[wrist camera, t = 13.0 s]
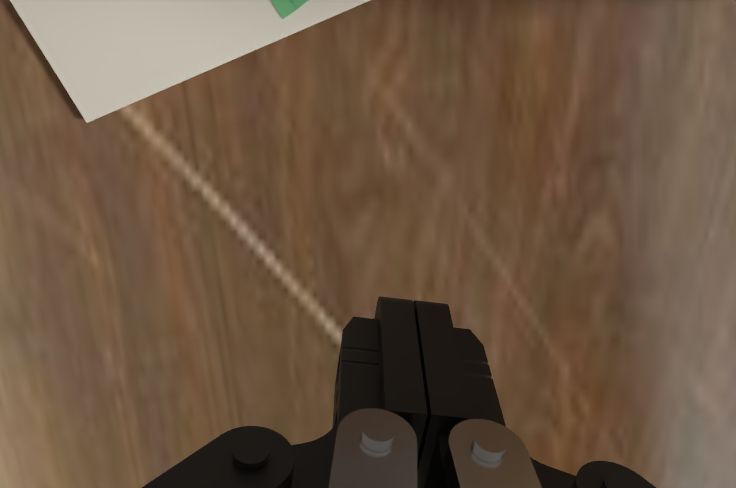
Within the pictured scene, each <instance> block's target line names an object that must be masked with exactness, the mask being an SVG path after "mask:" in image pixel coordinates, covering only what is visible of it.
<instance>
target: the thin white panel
mask: <svg viewBox="0 0 736 488" xmlns="http://www.w3.org/2000/svg"><path fill="white" fill-rule="evenodd" d="M10 1H11V3H12V4H13V6H14V8H15V9H16V11H17V12H18V14H19V16H20V17H21V19H22V20H23V22H24V24H25V25H26V27H27V28H28V30H29V32H30V33H31V35H32V36H33V38H34V40H35V41H36V43H37V44H38V46H39V48H40V49H41V51H42V52H43V54H44V56H45V57H46V59H47V60H48V62H49V63H50V65H51V67H52V68H53V70H54V71H55V73H56V75H57V76H58V78H59V79H60V81H61V83H62V84H63V86H64V87H65V89H66V91H67V92H68V94H69V95H70V97H71V99H72V100H73V102H74V103H75V105H76V107H77V108H78V110H79V111H80V113H81V114H82V116H83V118H84V119H85V121H86V122H87V123H88V122H90V121H92V120H94V119H97V118H99V117H101V116H104V115H106V114H108V113H111V112H113V111H115V110H118V109H120V108H122V107H125V106H127V105H129V104H131V103H134V102H136V101H138V100H141V99H143V98H145V97H148V96H150V95H152V94H155V93H157V92H159V91H162V90H164V89H166V88H169V87H171V86H173V85H175V84H178V83H180V82H182V81H185V80H187V79H189V78H192V77H194V76H196V75H199V74H201V73H203V72H206V71H208V70H210V69H213V68H215V67H217V66H219V65H222V64H224V63H226V62H229V61H231V60H233V59H236V58H238V57H240V56H243V55H245V54H247V53H250V52H252V51H254V50H256V49H259V48H261V47H263V46H266V45H268V44H270V43H273V42H275V41H277V40H280V39H282V38H284V37H287V36H289V35H291V34H294V33H296V32H298V31H300V30H303V29H305V28H307V27H310V26H312V25H314V24H317V23H319V22H321V21H324V20H326V19H328V18H331V17H333V16H335V15H338V14H340V13H342V12H344V11H347V10H349V9H351V8H354V7H356V6H358V5H361V4H363V3H365V2H368V1H370V0H10Z"/></svg>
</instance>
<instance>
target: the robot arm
mask: <svg viewBox="0 0 736 488" xmlns="http://www.w3.org/2000/svg"><path fill="white" fill-rule="evenodd" d="M491 376H492V375H491V372H490V368H489V365H488V361H487V357H486V354H485V350H484V346H483V344H482V343H481V342H480V341H479V340H478V339H477V337H476V336H475V335H474V334H473V333H472V332H471V330H470V329H461V328H453V324H452V319H451V314H450V310H449V306H448V304H442V303H433V302H424V301H416V300H415V301H414V302H413V301H412V300H406V299H397V298H388V297H379V298H378V302H377V307H376V313H375V319H369V318H360V317H353V318H352V319H351V321H350V322H349V323H348V324H347V326H346V327H345V328H344V329H343V334H342V341H341V348H340V355H339V362H338V368H337V375H336V382H335V395H334V413H333V428H332V429H331V430H330V432H328V433H327V434H326V435H324V436H323V437H321V438H319V439H317V440H314V441H311V442H307V443H302V444H297V445H290V443H289V442H288V441H287V439H285V438H284V437H283V436H282V435H281V434H279V433H277V432H276V431H273V430H271V429H268V428H264V427H258V426H245V427H239V428H235V429H232V430H229V431H227V432H225V433H224V434H222V435H220V436H219V437H217V438H216V439H214V440H213V441H211V442H210V443H208V444H207V445H205V446H204V447H202V448H201V449H199V450H198V451H196V452H195V453H193V454H192V455H190V456H189V457H187V458H186V459H184V460H183V461H181V462H180V463H178V464H177V465H175V466H174V467H172V468H171V469H169V470H168V471H166V472H165V473H163V474H162V475H160V476H159V477H157V478H156V479H154V480H153V481H151V482H150V483H148V484H147V485H145V486H144V487H142V488H656V487H655V486H653V485H652V484H651V483H649V482H648V481H647V480H645V479H644V478H643V477H641V476H640V475H638V474H637V473H635V472H634V471H632V470H630V469H629V468H627V467H624V466H622V465H619V464H616V463H613V462H607V461H593V462H590V463H587V464H585V465H583V466H582V467H581V468H580V470H579V471H578V473H577V476H574V475H571V474H569V473H566V472H563V471H560V470H557V469H554V468H552V467H549V466H546V465H544V464H541V463H539V462H537V461H536V460H534V459H532V458H531V457H530V456H529V454H528V451H527V449H526V447H525V445H524V443H523V442H522V440H521V439H520V438H519V437H518V436H517V435H516V434H515V433H514V432H513V431H511V430H510V429H508V428H507V427H506V426H505V422H504V418H503V415H502V411H501V408H500V404H499V400H498V397H497V393H496V390H495V386H494V382H493V379H491Z"/></svg>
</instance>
